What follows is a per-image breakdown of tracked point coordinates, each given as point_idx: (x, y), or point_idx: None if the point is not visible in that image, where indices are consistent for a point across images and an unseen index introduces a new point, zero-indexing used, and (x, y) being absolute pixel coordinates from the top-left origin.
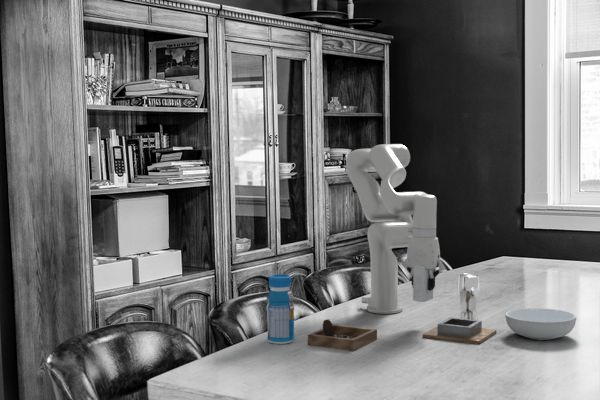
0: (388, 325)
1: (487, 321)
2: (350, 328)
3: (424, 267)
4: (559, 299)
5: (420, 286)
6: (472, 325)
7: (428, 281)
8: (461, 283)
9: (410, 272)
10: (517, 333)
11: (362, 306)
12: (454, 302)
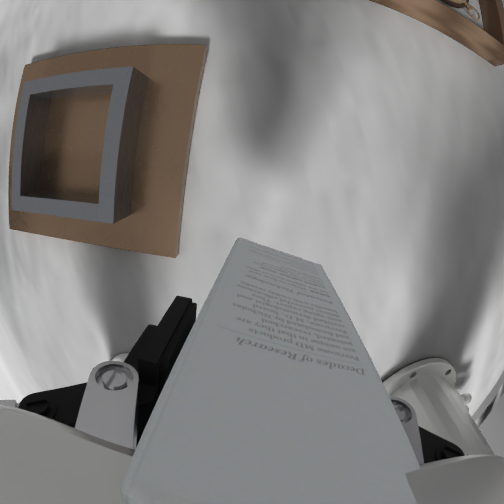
0: (392, 212)
1: (85, 361)
2: (460, 17)
3: (129, 465)
4: None
5: (262, 284)
6: (19, 117)
7: (173, 344)
8: None
9: (415, 434)
10: None
11: None
12: None
